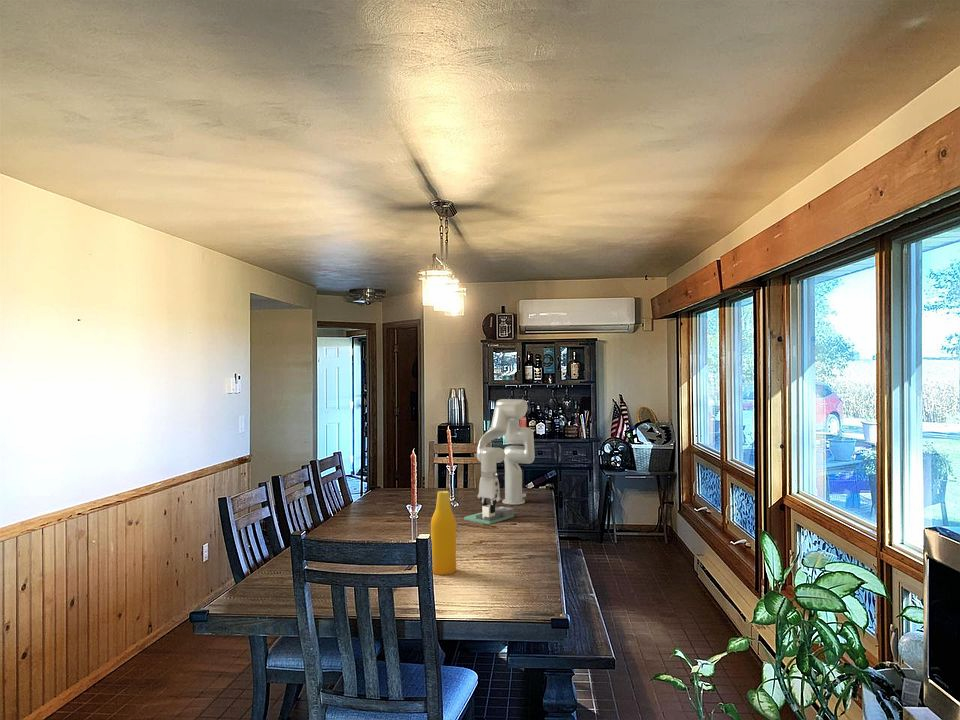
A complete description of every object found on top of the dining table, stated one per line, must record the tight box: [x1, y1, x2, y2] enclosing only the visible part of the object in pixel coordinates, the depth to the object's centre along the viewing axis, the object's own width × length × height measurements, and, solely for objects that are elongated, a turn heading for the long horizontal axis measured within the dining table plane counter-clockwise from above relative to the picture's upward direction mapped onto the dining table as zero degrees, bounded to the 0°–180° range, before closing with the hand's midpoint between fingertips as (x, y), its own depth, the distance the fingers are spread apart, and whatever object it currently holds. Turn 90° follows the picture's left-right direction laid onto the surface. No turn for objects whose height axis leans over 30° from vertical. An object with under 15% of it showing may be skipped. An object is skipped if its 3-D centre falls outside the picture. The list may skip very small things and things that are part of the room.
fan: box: [495, 506, 515, 517], centre depth 321 cm, size 8×8×4 cm
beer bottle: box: [430, 490, 457, 576], centre depth 234 cm, size 9×9×29 cm
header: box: [476, 513, 502, 521], centre depth 314 cm, size 10×9×2 cm
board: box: [463, 511, 515, 525], centre depth 319 cm, size 20×16×1 cm
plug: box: [481, 504, 495, 517], centre depth 314 cm, size 5×4×5 cm
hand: (488, 511), depth 314 cm, fingers closed on plug, 4 cm apart
